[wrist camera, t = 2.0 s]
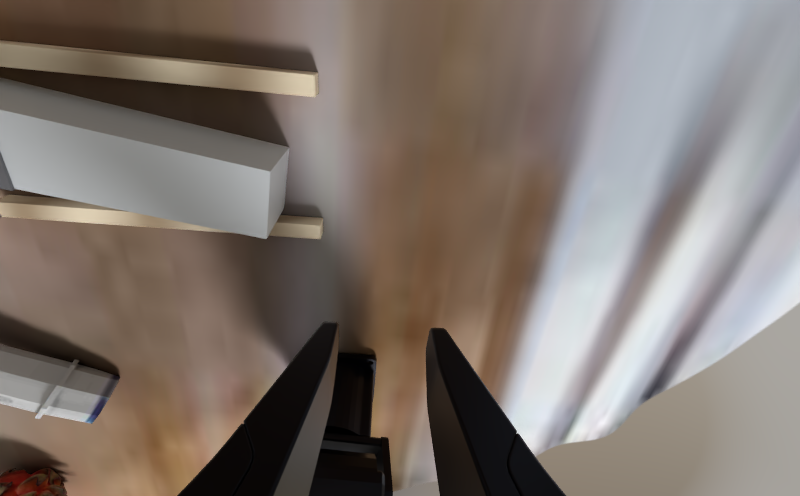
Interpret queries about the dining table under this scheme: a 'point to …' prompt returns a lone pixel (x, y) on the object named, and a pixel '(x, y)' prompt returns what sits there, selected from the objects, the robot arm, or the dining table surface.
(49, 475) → the dragon fruit
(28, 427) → the dining table surface
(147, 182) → the gray rectangular bar
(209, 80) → the guide rails
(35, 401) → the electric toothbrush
